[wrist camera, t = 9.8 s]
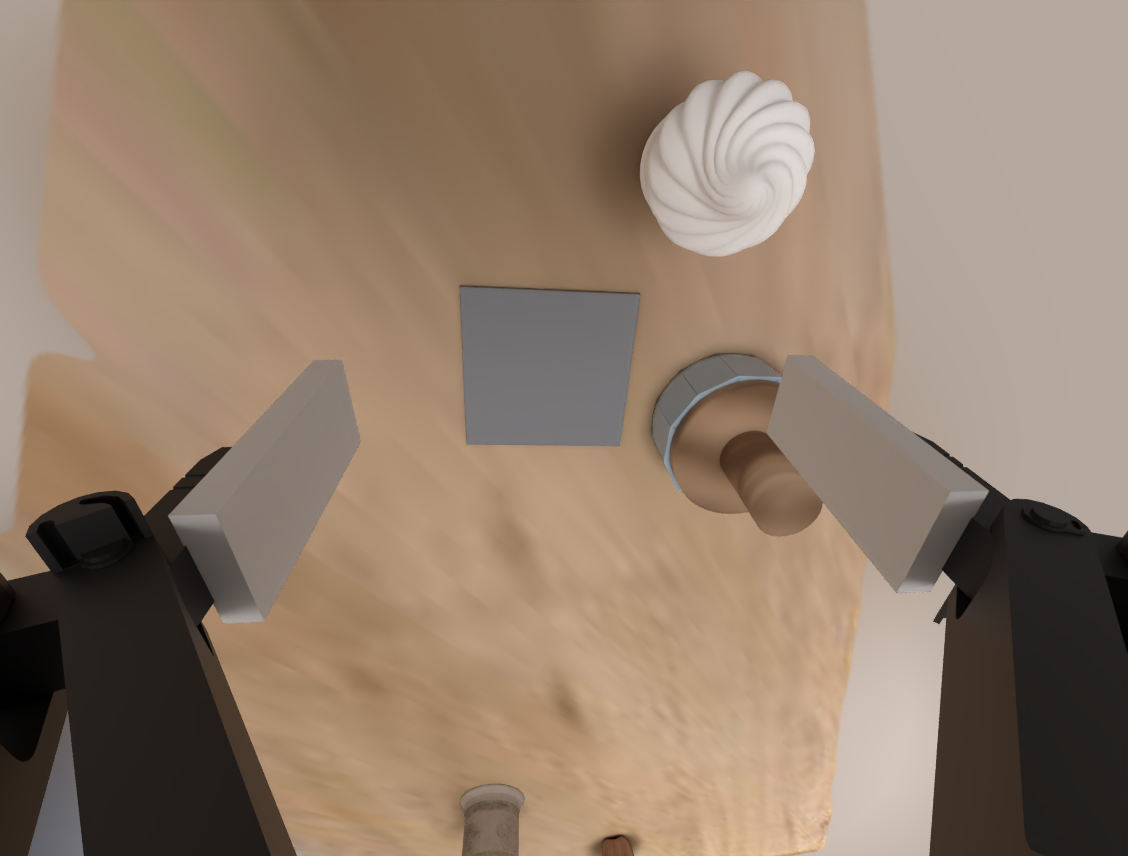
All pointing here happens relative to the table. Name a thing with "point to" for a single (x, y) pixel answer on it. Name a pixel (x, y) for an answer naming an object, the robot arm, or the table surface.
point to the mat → (546, 365)
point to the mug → (491, 820)
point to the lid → (741, 460)
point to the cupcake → (617, 847)
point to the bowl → (701, 392)
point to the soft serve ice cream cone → (728, 164)
